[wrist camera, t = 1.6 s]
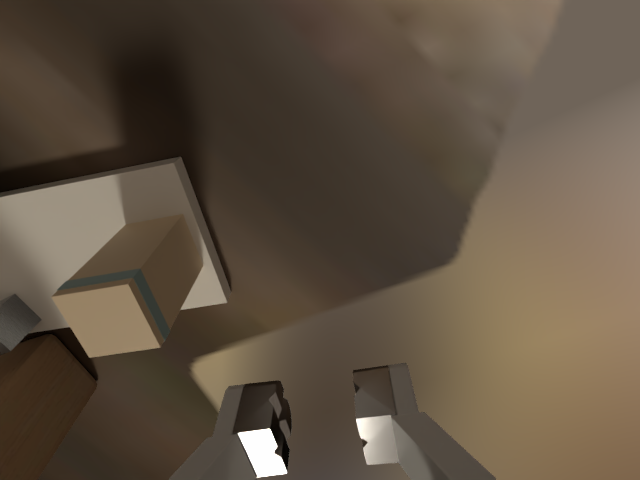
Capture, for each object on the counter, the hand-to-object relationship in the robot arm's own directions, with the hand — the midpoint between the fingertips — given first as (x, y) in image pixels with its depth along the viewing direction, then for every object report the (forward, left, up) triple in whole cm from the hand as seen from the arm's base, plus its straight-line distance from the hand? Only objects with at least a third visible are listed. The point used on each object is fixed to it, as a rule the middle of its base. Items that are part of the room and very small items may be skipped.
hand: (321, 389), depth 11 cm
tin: (+12, -38, -27) cm, 48 cm away
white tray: (+7, -28, -29) cm, 41 cm away
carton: (+7, -18, -27) cm, 33 cm away
